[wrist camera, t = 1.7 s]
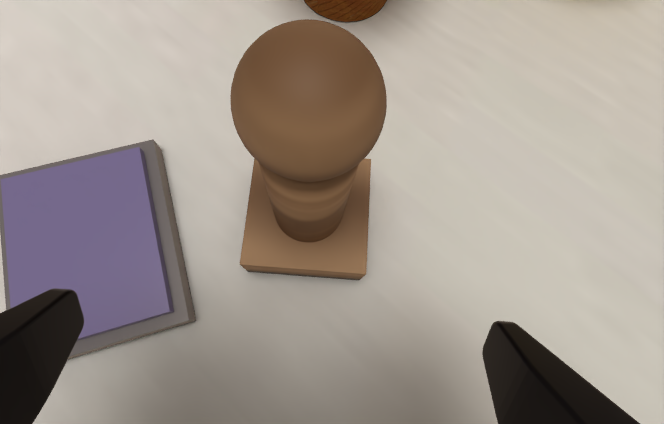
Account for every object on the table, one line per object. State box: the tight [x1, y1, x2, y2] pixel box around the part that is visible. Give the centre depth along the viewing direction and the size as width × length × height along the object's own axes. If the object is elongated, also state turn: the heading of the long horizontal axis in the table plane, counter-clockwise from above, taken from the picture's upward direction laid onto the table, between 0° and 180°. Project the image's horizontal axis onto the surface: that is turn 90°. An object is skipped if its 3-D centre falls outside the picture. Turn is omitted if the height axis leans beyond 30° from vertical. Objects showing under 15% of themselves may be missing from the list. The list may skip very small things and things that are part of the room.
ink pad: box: [0, 140, 196, 359], centre depth 19 cm, size 10×8×2 cm
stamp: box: [231, 20, 386, 280], centre depth 15 cm, size 6×6×14 cm
